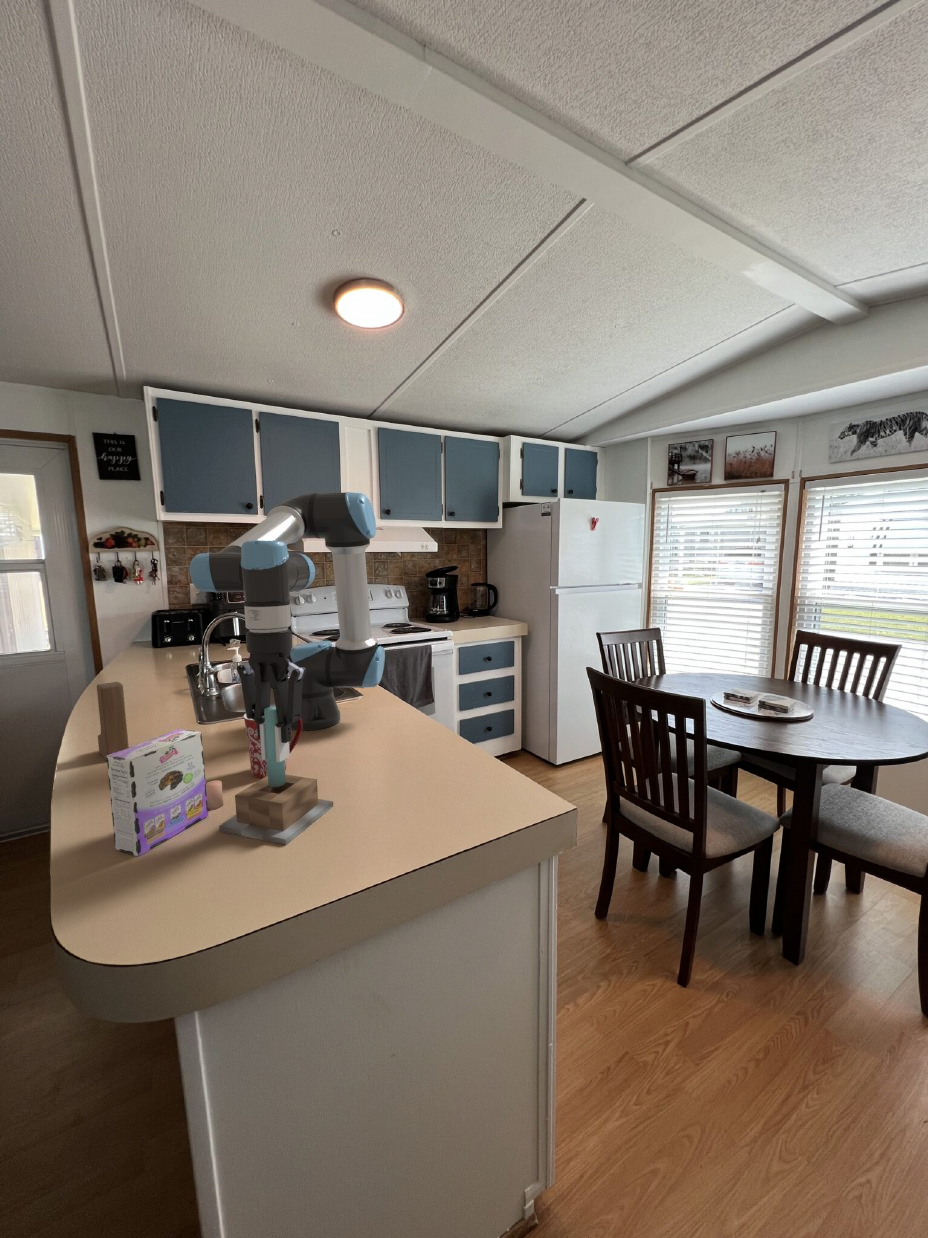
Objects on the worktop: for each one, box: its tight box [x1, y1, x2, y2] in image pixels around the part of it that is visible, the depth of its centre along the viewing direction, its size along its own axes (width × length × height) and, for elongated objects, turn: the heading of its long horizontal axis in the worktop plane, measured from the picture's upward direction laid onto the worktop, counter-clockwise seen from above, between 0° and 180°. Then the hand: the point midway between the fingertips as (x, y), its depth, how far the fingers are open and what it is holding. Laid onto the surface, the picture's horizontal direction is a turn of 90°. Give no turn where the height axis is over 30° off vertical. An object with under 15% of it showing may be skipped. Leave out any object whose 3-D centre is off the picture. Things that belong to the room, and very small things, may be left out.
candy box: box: [106, 728, 209, 857], centre depth 88 cm, size 14×6×16 cm, turn 159°
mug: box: [242, 713, 303, 779], centre depth 115 cm, size 13×9×14 cm
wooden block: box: [96, 681, 129, 761], centre depth 124 cm, size 9×4×18 cm, turn 46°
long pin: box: [264, 705, 286, 787], centre depth 92 cm, size 3×3×14 cm
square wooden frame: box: [218, 773, 334, 846], centre depth 93 cm, size 14×14×6 cm
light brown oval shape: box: [206, 780, 224, 811], centre depth 98 cm, size 3×3×4 cm
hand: (275, 757), depth 92 cm, fingers closed on long pin, 2 cm apart
